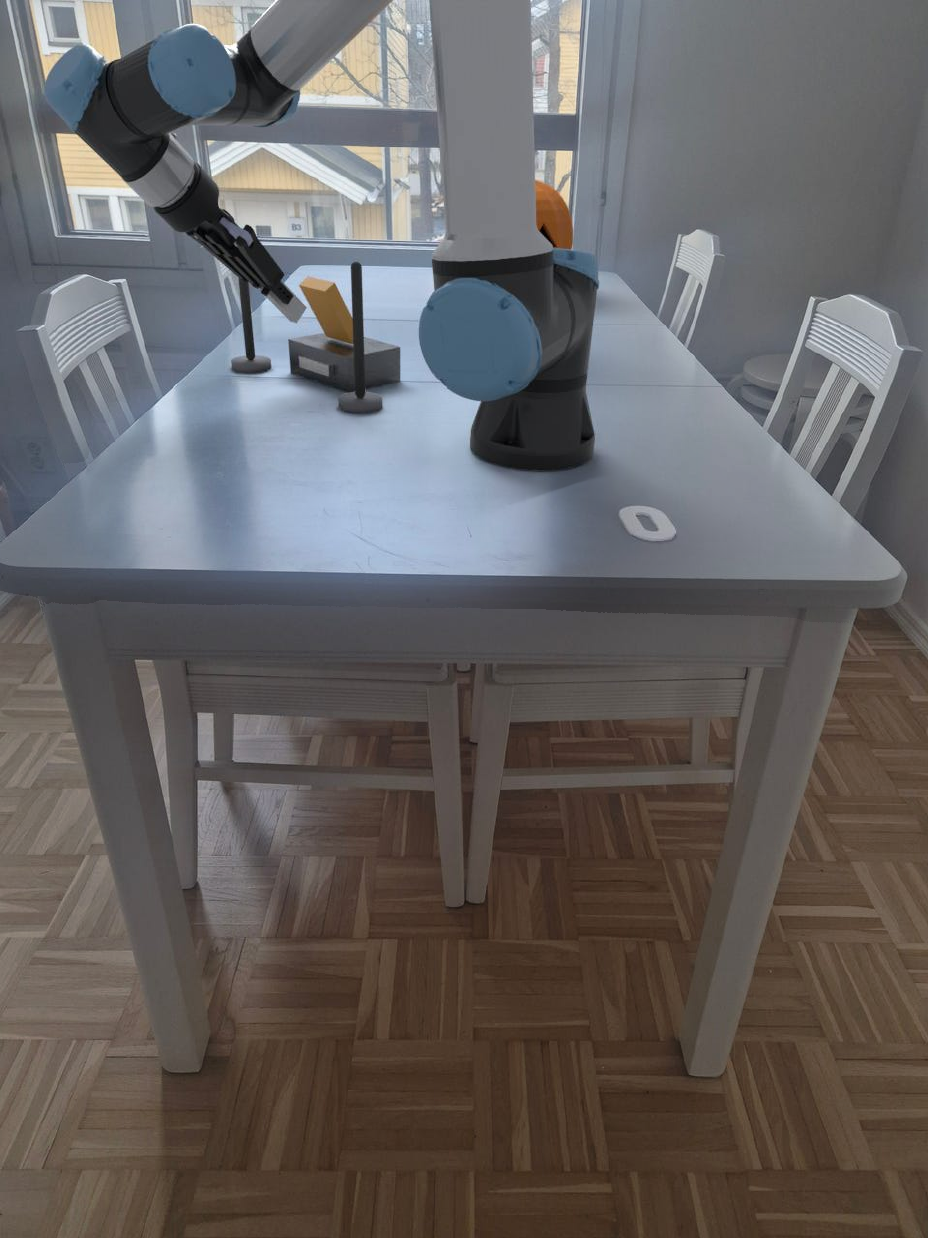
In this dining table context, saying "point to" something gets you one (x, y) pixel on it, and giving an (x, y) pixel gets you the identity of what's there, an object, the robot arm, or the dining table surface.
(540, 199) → the jack-o'-lantern
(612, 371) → the dining table surface
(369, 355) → the block
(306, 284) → the orange rectangular prism
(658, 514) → the chain link
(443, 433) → the dining table surface
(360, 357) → the stand
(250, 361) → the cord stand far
